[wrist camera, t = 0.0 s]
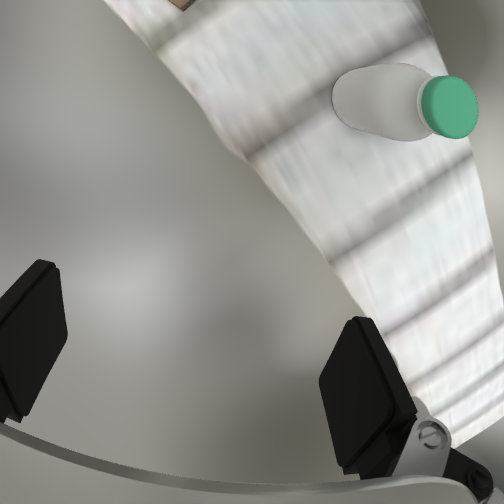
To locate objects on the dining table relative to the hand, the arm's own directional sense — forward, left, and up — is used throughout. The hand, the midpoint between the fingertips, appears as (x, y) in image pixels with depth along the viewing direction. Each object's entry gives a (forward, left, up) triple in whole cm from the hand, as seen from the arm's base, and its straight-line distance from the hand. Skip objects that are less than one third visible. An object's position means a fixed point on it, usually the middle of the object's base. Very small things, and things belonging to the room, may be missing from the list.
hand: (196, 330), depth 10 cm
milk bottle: (-11, +14, -31) cm, 36 cm away
